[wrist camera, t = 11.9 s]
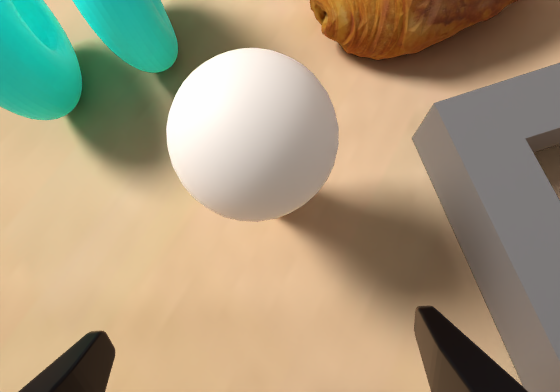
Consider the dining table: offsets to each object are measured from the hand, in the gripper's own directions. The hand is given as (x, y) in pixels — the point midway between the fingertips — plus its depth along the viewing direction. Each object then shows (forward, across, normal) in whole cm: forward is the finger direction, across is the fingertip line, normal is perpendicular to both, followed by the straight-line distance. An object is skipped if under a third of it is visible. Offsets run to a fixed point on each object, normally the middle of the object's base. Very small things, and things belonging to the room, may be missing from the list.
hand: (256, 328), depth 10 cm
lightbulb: (+11, 0, +2) cm, 11 cm away
